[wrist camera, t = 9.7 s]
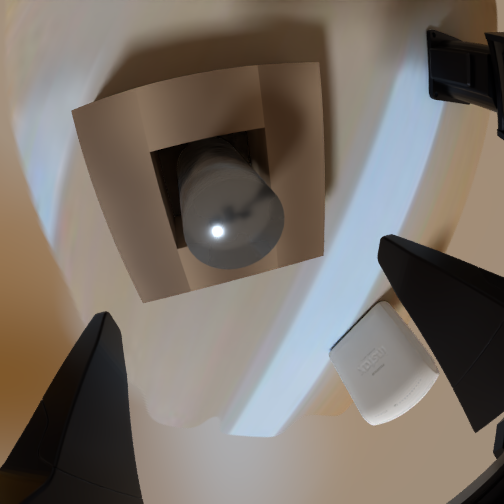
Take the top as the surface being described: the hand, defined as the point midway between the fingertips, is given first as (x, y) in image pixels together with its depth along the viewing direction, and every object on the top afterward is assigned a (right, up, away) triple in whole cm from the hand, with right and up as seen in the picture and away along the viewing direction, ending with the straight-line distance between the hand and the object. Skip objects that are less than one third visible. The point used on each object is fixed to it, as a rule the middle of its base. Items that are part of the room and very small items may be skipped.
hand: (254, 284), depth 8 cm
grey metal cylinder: (-3, +6, +9) cm, 11 cm away
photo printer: (+13, -9, +25) cm, 29 cm away
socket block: (-3, +6, +9) cm, 11 cm away
